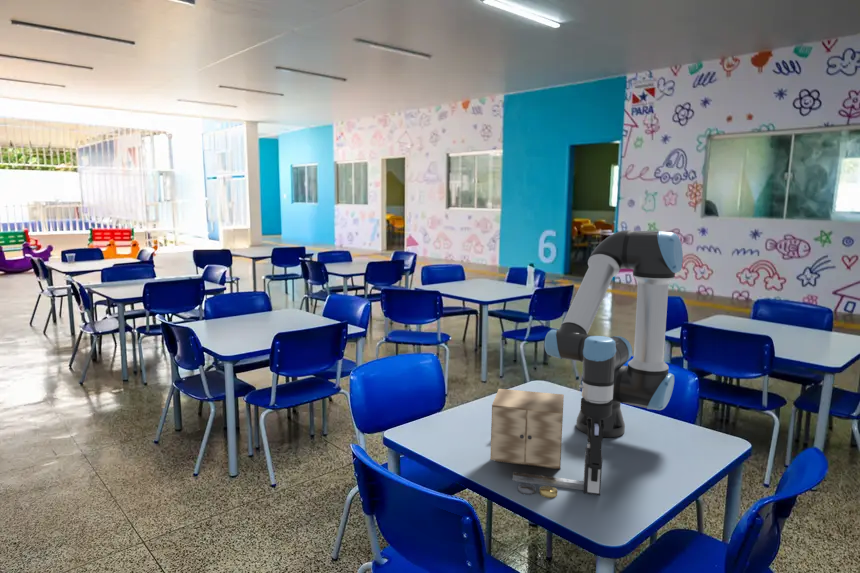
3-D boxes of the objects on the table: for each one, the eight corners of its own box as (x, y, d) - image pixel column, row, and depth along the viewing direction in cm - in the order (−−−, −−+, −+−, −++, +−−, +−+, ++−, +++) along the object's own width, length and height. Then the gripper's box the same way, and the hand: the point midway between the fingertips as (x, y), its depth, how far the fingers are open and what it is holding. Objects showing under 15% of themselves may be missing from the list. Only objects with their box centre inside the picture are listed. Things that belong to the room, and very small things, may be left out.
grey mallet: (599, 486, 144) (601, 449, 143) (600, 495, 140) (602, 457, 138) (513, 475, 150) (515, 439, 149) (511, 483, 145) (513, 447, 144)
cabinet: (560, 463, 157) (563, 394, 155) (559, 488, 143) (562, 413, 140) (496, 455, 162) (498, 388, 159) (489, 479, 147) (491, 406, 145)
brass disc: (556, 491, 142) (557, 486, 142) (557, 499, 138) (558, 494, 138) (539, 489, 143) (539, 484, 143) (539, 497, 139) (539, 492, 138)
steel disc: (535, 488, 143) (536, 484, 143) (535, 496, 139) (535, 492, 139) (518, 486, 144) (518, 482, 144) (517, 494, 140) (517, 490, 140)
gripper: (580, 382, 152) (576, 456, 155) (581, 414, 128) (577, 501, 131) (609, 385, 150) (604, 460, 153) (616, 418, 126) (610, 506, 129)
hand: (592, 479), depth 142 cm, fingers open, 13 cm apart
